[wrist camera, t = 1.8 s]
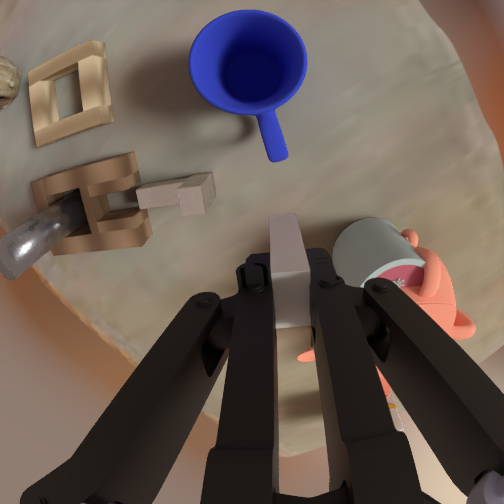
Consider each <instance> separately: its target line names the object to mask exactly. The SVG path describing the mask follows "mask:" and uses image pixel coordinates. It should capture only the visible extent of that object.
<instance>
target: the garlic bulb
mask: <svg viewBox="0 0 504 504" xmlns="http://www.w3.org/2000/svg"><path fill="white" fill-rule="evenodd" d="M21 75H22V73H21V71H20V70H19V69H18V68H17V67H16V66H15V65H14V63H13V62H12V61H10V60H8V59H7V58H5V57H2V56H0V108H1V107H2V108H3V109H5V108H6V106H8V105H9V104H10V103H11V101H12V100H13V98H14V97H15V96H17V94H18V92H19V84H20V80H21Z"/></svg>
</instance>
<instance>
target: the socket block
mask: <svg viewBox="0 0 504 504" xmlns="http://www.w3.org/2000/svg"><path fill="white" fill-rule="evenodd" d="M139 182H140V176H139V171H138V166H137V161H136V155H135V152H131V153H127V154H122V155H118V156H114V157H110V158H106V159H102V160H99V161H95V162H91V163H88V164H84V165H80V166H77V167H74V168H70V169H67V170H64V171H61V172H57V173H54V174H51V175H48V176H46V177H43V178H41V179H39V180H37V181H34V182H32V183H31V186H32V190H33V194H34V197H35V201H36V205H37V208H38V212H39V213H40V212H41V211H43V210H44V209H46V208H48V207H49V206H51V205H53V204H55V203H56V202H58V201H60V200H62V199H63V198H64V194H63V192H65V191H69V190H72V189H76V188H79V189H80V193H81V197H82V201H83V205H84V208H85V212H86V216H87V219H88V223H89V225H88V226H82V227H78V228H77V229H75V230H74V231H73V232H71V233H70V234H69V235H68V236H66V237H65V238H64V239H63V240H61V241H60V242H59V243H58V244H56V245H55V246H54V247H53V248H51V252H52V254H53V256H56V255H65V254H74V253H84V252H93V251H103V250H112V249H122V248H132V247H142V246H143V245H144V243H145V242H146V241H147V240H148V239H149V237H150V236H151V235H152V234H153V233H152V229H151V225H150V221H149V217H148V213H147V209H140V207H137V208H130V209H124V210H118V211H112V212H110V208H109V204H108V200H107V196H106V194H107V193H112V192H117V191H122V190H128V189H129V188H131V187H132V186H134V185H136V184H137V183H139Z"/></svg>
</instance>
